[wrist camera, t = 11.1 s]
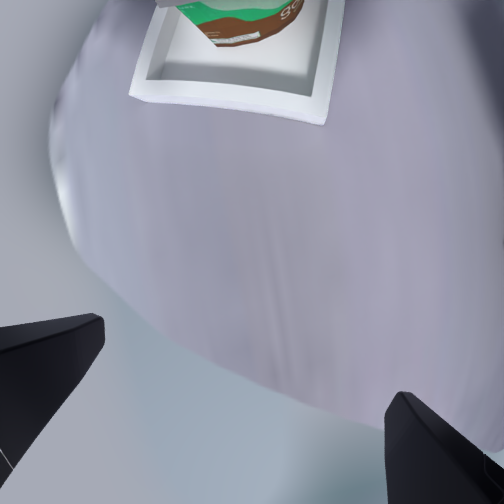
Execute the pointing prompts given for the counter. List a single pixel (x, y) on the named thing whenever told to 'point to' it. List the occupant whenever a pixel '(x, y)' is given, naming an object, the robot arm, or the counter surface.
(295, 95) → the tray
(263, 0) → the food container
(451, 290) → the counter surface
